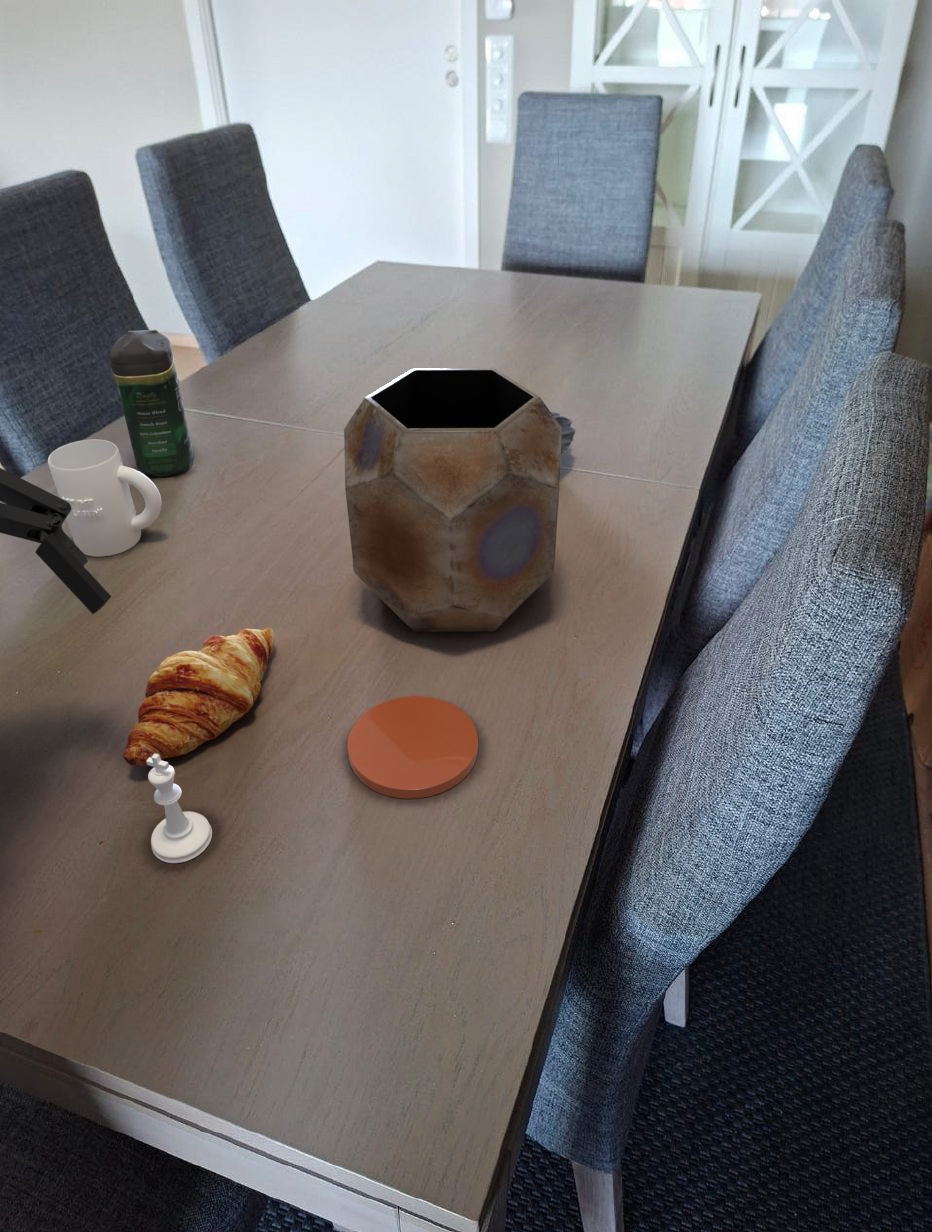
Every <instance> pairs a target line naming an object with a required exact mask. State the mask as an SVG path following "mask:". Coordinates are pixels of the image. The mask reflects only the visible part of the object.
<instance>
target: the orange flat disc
mask: <svg viewBox="0 0 932 1232" xmlns="http://www.w3.org/2000/svg"><path fill="white" fill-rule="evenodd" d="M478 751H479V738H478V731H477V729H476V726H475V724H474V722H473V720H472V719H471V718H470V716H469V715H468V714H466V712H464V711H463V710H462V709H461V708H460V707H458V706H457V705H454V704H453V703H451V702H448V701H446V700H443V699H440V698H437V697H432V696H425V695H410V696H408V695H407V696H401V697H396V698H392V699H389V700H386V701H383V702H381V703H379V704H377V705H375V706H373V707H371V708H370V709H369V710H367V711H366V712H364V713H363V714H362V715H361V716H360V717H359V718H358V719H357V721H356V722H355V723H354V724H353V726H352V728H351V731H350V732H349V735H348V740H347V755H348V761H349V765H350V768H351V770H352V771H353V773H354V775H355V776H356V778H357V779H358V780H359V781H360V782H361V783H362V784H363V785H364V786H366V787H367V788H369V789H370V790H372V791H374V792H376V793H378V794H381V795H383V796H386V797H391V798H397V799H405V800H412V799H414V800H415V799H423V798H428V797H429V798H430V797H433V796H437V795H439V794H442V793H444V792H446V791H448V790H450V789H452V788H454V787H455V786H457V785H458V784H459V783H461V782H462V781H463V780H464V779H465V778H466V777H467V776H469V774H470V772H471V771H472V769H473V768H474V766H475V765H476V764H475V763H476V761H477V757H478V754H479V753H478Z"/></svg>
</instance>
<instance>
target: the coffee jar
mask: <svg viewBox="0 0 932 1232" xmlns="http://www.w3.org/2000/svg"><path fill="white" fill-rule="evenodd" d="M109 360H110V365H111V371H112V374H113V377H114V381H115V384H116V388H117V391H118V395H119V399H120V403H121V408H122V411H123V415H124V420H125V423H126V427H127V432H128V435H129V440H130V445H131V449H132V453H133V457H134V462H135V465H136V470H137V471H139V472H141V473H142V474H144V475H146V476H155V477H168V476H171V475H173V474H177V473H180V472H184V471H186V470H188V468H189V467H190V466H191V463H192V461H193V457H194V449H193V444H192V440H191V435H190V429H189V425H188V421H187V417H186V416H187V415H186V412H185V407H184V402H183V397H182V392H181V387H180V383H179V378H178V377H179V376H178V372H177V368H176V362H175V357H174V353H173V348H172V346H171V341H170V339H169V338H168V337H167V336H166V335H164V334H163V333H161V332H159V331H158V330H157V329H143V330H141V329H140V330H128V331H127V332H125V334H124V335H122V336H121V337H119V338H118V339H117V340H116V341H115V342H114V344H113V345H112V347H111V349H110V352H109Z"/></svg>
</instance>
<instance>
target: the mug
mask: <svg viewBox="0 0 932 1232" xmlns="http://www.w3.org/2000/svg"><path fill="white" fill-rule="evenodd" d="M47 464H48V465H47V466H48V468H49V470H50V471H49V472H50V474H51V476H52V480H53V483H54V486H55V489H56V491H57V495H58V497H59V498H61V499H63V500H65V501H67V502H68V503H69V504H70V505H71V511H70V513H69V514H68V516H67V517H66V519H65V520H66V522H67V525H68V528H69V531H70V534H71V537H72V541H73V542H74V543H75V545H76V546H77V547H78V548H79V549H80V550H81V551H82V552H83V553H84V554H85V556H89V557H95V558H96V557H97V558H99V557H100V558H101V557H110V556H114V555H118V554H121V553H124V552H126V551H128V550H130V549H132V548H133V547H134V546H136V544H138V543H139V542H140V539H141V537H142V530H143V529H146V528H148V527H150V526H151V525H153V524H154V523H155V522H156V521H157V520H158V518H159V516H160V514H161V511H162V496H161V494H160V491H159V489H158V487H157V486H156V484H155V483H154V482H153V481H152V480H151V478H149V477H148V475H146V474H142V473H141V472H139V471H138V469H135V468H133V467H130V466H126V465H124V464H123V460H122V456H121V453H120V450H119V448H118V446H117V445H116V444H115V443H113V442H112V441H109V440H106V439H98V438H96V439H95V438H94V439H85V440H84V439H82V440H77V441H73V442H70V443H67V444H64V445H62V446H60V447H58V448H56V449H54V450H53V451H52V452H51V453H50V454H49V455H48V458H47ZM129 485H130V486H132V487H134V488H135V489H136V490H138V491H139V493H140V494H141V495H142V497H143V499H144V503H145V505H144V509H143V510H142V512H140V513H139V514H137V512H136V508H135V504H134V499H133V497H132V493H131V489H130V486H129Z"/></svg>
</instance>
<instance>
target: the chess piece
mask: <svg viewBox="0 0 932 1232" xmlns="http://www.w3.org/2000/svg"><path fill="white" fill-rule="evenodd" d="M146 762H147V765H146V766H149V767H152V768H151V769H150V771H149V772H148V775H147V779H148V782H149V783H150V784H151V785H152V786H154V788H155V789H156V790H155V791H154V794H153V800H154V802H155V803H156V804H158V805H159V806H163V807H164V814H165V818H164V819H162V820H161V821H159V823H158V824H157V825H156V826H155V827H154V829H153V831H152V833H151V837H150V845H151V850H152V853H153V855H154V856H155V857H156V858H157V859H158V860H160V861H162V862H165V863H168V864H179V863H180V864H181V863H186V862H188V861H191V860H192V859H194V858H197V857H198V856H199V855H201V854H202V853H203V852H204V851H205V850H206V849H207V848H208V846H209V845H210V843H211V841H212V837H213V829H212V825H211V824H210V823H209V821H208V819H207V818H206V817H205V816H204V815H203V814H201V813H199V812H196V811H183V809H182V807H181V806H180V804H179V802H178V800H180V798H181V797H182V793H183V791H182V788H181V786H179V785H178V784H176V783H174V781H175V777H176V776H175V775H176V770H175V769H174V767H173V766H172V765H170V764H169V761H164V760H163V759H162V760H161V758H160V755H159V754H155V753H154V755H153V756H152V757H151V758H150V757H149V758H148V760H147V761H146Z"/></svg>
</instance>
